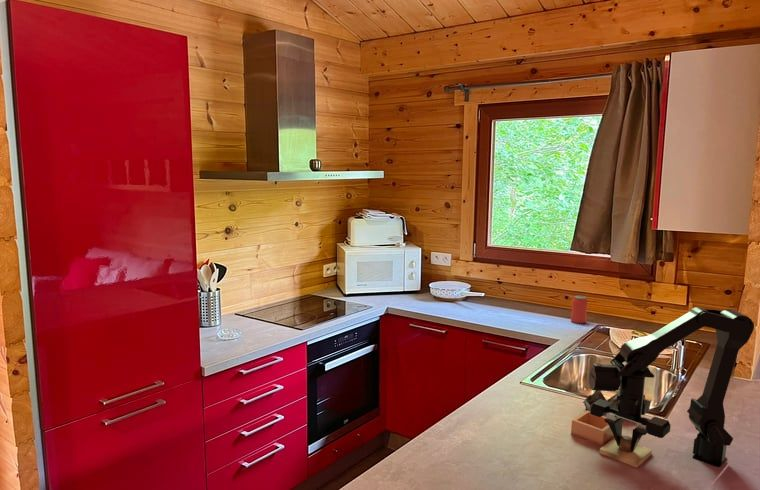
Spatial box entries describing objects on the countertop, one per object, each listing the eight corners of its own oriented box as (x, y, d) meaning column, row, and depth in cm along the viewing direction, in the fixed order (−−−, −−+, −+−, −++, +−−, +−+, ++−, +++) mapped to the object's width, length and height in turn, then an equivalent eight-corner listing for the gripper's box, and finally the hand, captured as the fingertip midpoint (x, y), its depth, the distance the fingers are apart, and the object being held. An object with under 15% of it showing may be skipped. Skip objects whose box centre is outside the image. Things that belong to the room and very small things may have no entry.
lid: (651, 454, 152) (653, 439, 152) (636, 467, 146) (638, 451, 145) (615, 440, 159) (616, 426, 158) (599, 453, 152) (600, 438, 152)
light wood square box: (616, 436, 162) (617, 420, 162) (602, 447, 156) (603, 431, 155) (585, 425, 169) (586, 410, 168) (570, 435, 162) (571, 420, 162)
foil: (583, 392, 184) (628, 375, 177) (600, 424, 182) (646, 408, 175) (576, 404, 174) (623, 386, 167) (594, 438, 172) (643, 422, 165)
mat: (652, 455, 152) (652, 454, 152) (637, 469, 145) (637, 468, 145) (614, 441, 159) (614, 440, 159) (598, 454, 152) (598, 453, 152)
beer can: (587, 324, 269) (589, 298, 267) (573, 323, 269) (575, 298, 267) (582, 320, 276) (584, 295, 274) (568, 319, 276) (570, 294, 274)
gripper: (681, 393, 149) (674, 450, 151) (609, 373, 162) (604, 426, 164) (665, 406, 141) (658, 466, 143) (591, 383, 154) (586, 439, 156)
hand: (626, 448), depth 152 cm, fingers closed on lid, 3 cm apart
